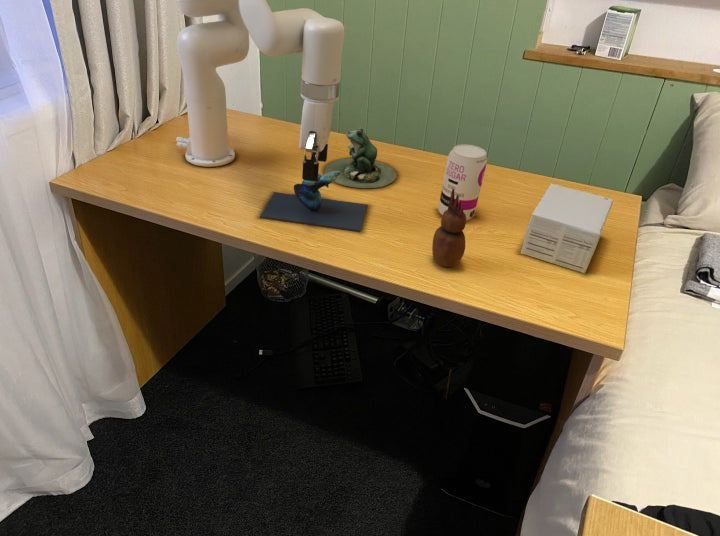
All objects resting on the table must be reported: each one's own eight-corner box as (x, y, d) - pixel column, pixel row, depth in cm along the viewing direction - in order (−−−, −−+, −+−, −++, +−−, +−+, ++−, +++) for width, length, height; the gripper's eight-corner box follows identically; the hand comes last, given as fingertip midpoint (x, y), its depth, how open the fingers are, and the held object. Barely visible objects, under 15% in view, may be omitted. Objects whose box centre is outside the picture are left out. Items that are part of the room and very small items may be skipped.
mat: (259, 217, 124) (259, 216, 123) (274, 193, 133) (274, 191, 133) (360, 231, 121) (360, 230, 121) (367, 206, 130) (367, 204, 130)
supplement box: (538, 220, 129) (550, 182, 123) (599, 237, 124) (615, 198, 118) (518, 253, 117) (531, 213, 111) (585, 274, 112) (601, 233, 106)
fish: (335, 218, 124) (338, 175, 118) (290, 211, 126) (291, 169, 120) (339, 208, 128) (342, 167, 122) (295, 202, 129) (296, 161, 123)
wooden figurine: (426, 252, 115) (439, 185, 106) (454, 252, 116) (469, 185, 107) (434, 271, 110) (448, 202, 101) (463, 271, 111) (480, 202, 102)
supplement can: (475, 209, 132) (490, 147, 122) (471, 225, 125) (486, 161, 116) (440, 202, 133) (453, 140, 124) (434, 218, 127) (447, 154, 118)
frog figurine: (331, 154, 152) (334, 111, 145) (399, 163, 150) (405, 120, 143) (318, 183, 138) (320, 137, 131) (392, 193, 136) (398, 146, 129)
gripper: (310, 73, 118) (306, 151, 129) (291, 101, 104) (287, 185, 115) (346, 78, 117) (338, 156, 128) (331, 106, 104) (324, 191, 114)
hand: (314, 170), depth 121 cm, fingers open, 9 cm apart
